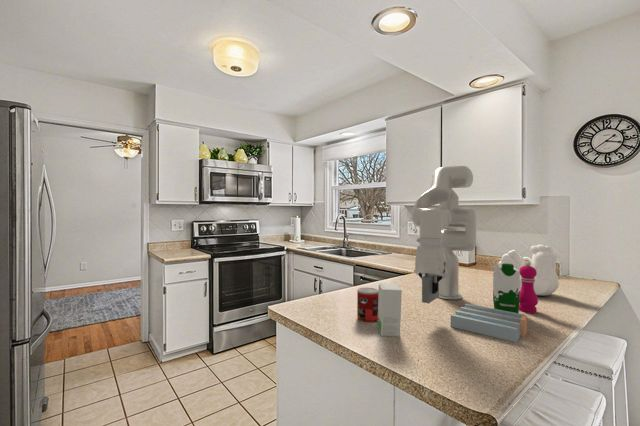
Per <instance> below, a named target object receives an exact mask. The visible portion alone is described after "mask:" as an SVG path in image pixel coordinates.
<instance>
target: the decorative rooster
mask: <svg viewBox="0 0 640 426" xmlns="http://www.w3.org/2000/svg"><path fill="white" fill-rule="evenodd" d="M553 251H554V250H553V247H552V246H550V245H546V244H537V245H532V246H530V252H531V253H532V257H528V256H523V257H522V256H521V254H520V253H519V251H518V250H516V249H512V250H508V252H507V253H504V254H503V255H502V257H501V258H500V260H499V262H498V264H497V265H498V266H497V267H502V264H513V265H514V268H515V269H517V270H519V269H520V268H521V267H522V266H526V265H525V263H526V262H525V261H529V263H530V266H531V267H533V268H535V270H536V272H537V274H536V276H535V277H534V278H535V282H534V291H535V294H536V296H549V295H551V294H553V293H555V292H556V291H557V290H558V288H559V283H560V282H559V275H558V274H557V271H556V270H557V265H556V264H557V261H556V260H558V259H559V255H557V254H554V252H553ZM520 277H521V275H520ZM521 287H522V281H521V278H520V290H521Z"/></svg>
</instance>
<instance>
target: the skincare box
mask: <svg viewBox="0 0 640 426" xmlns="http://www.w3.org/2000/svg"><path fill="white" fill-rule="evenodd" d="M378 290H379V293H378V320H377V329H378V331H379V333H380V336H381V337H399V338H400V337H401V319H402V317H401V316H402V296H403V295H402V294H403V293H402V289H401V288H400V285H398V284H397V283H396V282H395V283H391V282H390V283H387V282H385V283H383V282H380V283H378Z"/></svg>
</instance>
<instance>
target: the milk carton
mask: <svg viewBox="0 0 640 426" xmlns="http://www.w3.org/2000/svg"><path fill="white" fill-rule="evenodd" d="M492 274H493V278H492V280H493V281H492V283H493V284H492V293H493V294H492V299H493V300H492V301H493V302H492V303H493V309H498V310H503V311H509V312H514V313H519V314H520V310H519V304H520V303H519V298H520V271H519V270H517V269H515V268H514V265H513V264H502V267H499V266H493V273H492Z"/></svg>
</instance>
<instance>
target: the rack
mask: <svg viewBox="0 0 640 426" xmlns="http://www.w3.org/2000/svg"><path fill="white" fill-rule="evenodd" d="M450 327H451V328H455V329H458V330H459V329H460V330H463V331H468V332H471V333H476V334H481V335H485V336H489V337H492V338H498V339H502V340H506V341H511V342H513V343H514V342H515V343H518V340H520V337H522V338H525V337H526V335H527V333H528V315H526V314H524V313H520V312H519V313H514V312H509V311H503V310H498V309H494V308H492V307H491V308H490V307H486V306H481V305H476V304H470V303H465V304H464V306H461V307H460V310H456V311H455V314H453V313H452V314H450Z"/></svg>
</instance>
